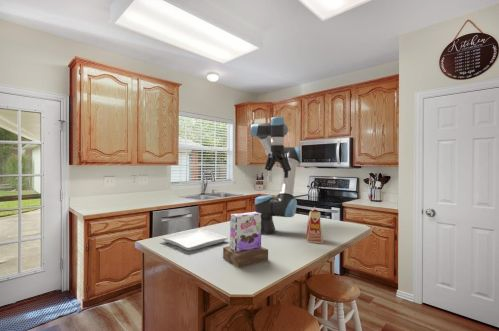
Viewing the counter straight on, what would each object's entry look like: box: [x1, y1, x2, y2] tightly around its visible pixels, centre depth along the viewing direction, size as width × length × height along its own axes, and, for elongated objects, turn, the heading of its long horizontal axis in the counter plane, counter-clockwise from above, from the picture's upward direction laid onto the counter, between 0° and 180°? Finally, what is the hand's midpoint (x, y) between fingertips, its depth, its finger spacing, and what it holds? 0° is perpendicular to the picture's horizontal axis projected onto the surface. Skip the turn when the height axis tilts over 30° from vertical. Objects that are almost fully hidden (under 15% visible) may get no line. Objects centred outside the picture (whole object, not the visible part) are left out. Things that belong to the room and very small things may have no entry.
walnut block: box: [222, 245, 269, 269], centre depth 124 cm, size 14×16×5 cm
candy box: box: [229, 211, 262, 252], centre depth 124 cm, size 14×6×16 cm, turn 120°
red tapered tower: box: [305, 206, 324, 244], centre depth 154 cm, size 9×9×20 cm
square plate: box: [160, 228, 229, 251], centre depth 149 cm, size 27×27×4 cm
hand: (277, 182), depth 149 cm, fingers open, 13 cm apart
